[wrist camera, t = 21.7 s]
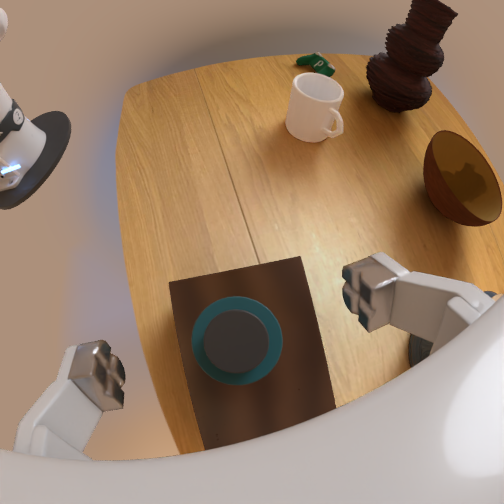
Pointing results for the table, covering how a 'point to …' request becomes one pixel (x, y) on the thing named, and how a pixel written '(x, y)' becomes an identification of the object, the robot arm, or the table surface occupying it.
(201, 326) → the bottle
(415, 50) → the vase
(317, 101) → the mug
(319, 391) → the wooden box
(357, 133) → the table surface
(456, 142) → the bowl
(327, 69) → the gaming controller
